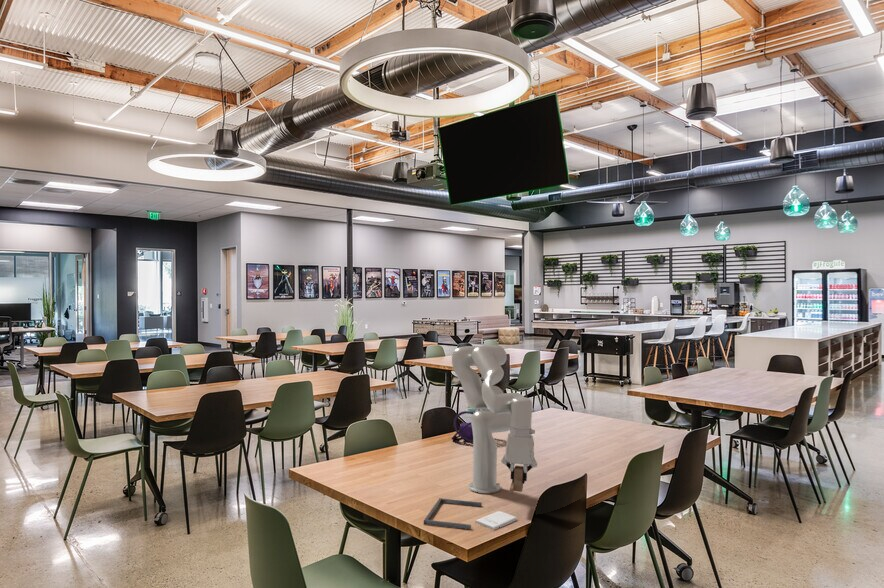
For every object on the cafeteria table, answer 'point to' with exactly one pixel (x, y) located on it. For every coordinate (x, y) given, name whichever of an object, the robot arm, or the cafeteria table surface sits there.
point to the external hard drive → (496, 520)
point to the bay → (449, 524)
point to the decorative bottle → (464, 427)
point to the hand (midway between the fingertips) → (518, 481)
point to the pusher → (517, 479)
